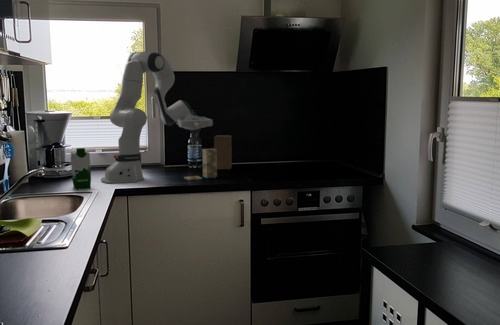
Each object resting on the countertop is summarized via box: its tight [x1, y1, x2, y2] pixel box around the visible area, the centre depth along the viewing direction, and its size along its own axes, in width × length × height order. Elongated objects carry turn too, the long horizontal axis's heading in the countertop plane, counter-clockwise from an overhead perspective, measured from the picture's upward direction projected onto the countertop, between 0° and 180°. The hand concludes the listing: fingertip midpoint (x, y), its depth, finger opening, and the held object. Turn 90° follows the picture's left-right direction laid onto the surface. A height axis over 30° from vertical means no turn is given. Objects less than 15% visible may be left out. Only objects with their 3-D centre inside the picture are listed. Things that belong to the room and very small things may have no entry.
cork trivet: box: [183, 175, 204, 181], centre depth 269 cm, size 8×8×1 cm
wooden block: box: [213, 134, 233, 170], centre depth 301 cm, size 10×10×20 cm
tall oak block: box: [201, 148, 218, 179], centre depth 272 cm, size 6×6×16 cm
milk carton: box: [70, 147, 92, 190], centre depth 244 cm, size 9×9×20 cm
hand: (200, 124), depth 280 cm, fingers closed
